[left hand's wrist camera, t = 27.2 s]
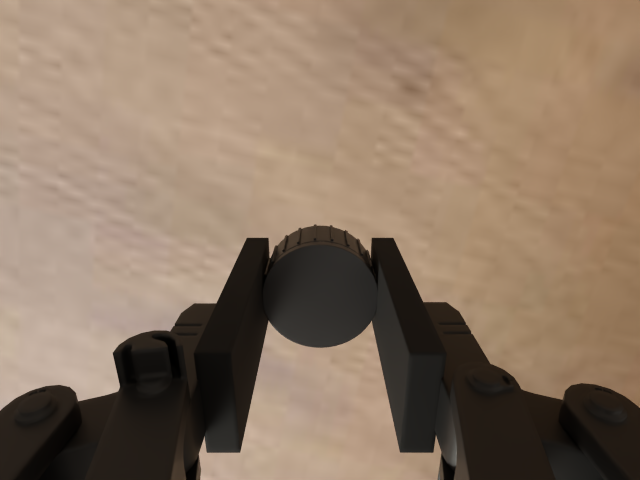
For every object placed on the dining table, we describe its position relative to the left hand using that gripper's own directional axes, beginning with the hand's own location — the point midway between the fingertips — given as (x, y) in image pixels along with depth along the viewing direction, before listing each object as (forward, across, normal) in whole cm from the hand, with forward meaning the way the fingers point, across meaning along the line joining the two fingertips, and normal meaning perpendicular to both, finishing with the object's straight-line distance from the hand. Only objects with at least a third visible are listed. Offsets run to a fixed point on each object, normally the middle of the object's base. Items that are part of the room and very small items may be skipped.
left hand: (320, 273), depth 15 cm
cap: (-2, 0, 0) cm, 2 cm away
